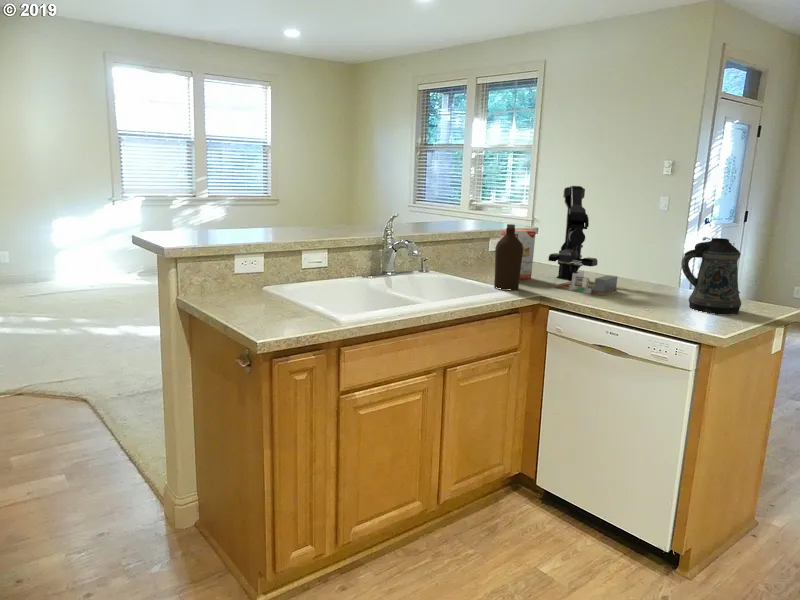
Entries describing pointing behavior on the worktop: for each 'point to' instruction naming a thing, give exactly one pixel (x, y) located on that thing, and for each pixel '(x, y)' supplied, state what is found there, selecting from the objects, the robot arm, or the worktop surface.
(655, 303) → the worktop surface
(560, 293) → the worktop surface
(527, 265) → the cracker box
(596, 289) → the grey rectangular block
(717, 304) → the beer stein
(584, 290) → the gauge base
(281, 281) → the worktop surface
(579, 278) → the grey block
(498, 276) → the olive oil
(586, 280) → the telltale
